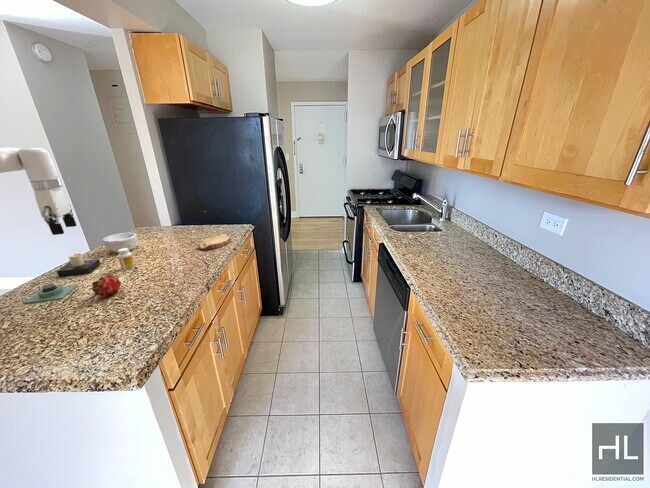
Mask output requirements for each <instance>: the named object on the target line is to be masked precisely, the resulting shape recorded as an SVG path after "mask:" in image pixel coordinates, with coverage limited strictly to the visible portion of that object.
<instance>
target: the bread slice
mask: <svg viewBox="0 0 650 488" xmlns="http://www.w3.org/2000/svg"><path fill="white" fill-rule="evenodd" d="M231 241H232V239H231V236H229V235H227V234H220V235H215V236H212V237H209V238H206V239H202V240H201V241H199V243H198V245H197V249H198V250H199V251H209V250H215V249H218V248H222V247H224V246H225V245H228V244H229V243H230V242H231Z"/></svg>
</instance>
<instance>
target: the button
mask: <svg viewBox="0 0 650 488" xmlns="http://www.w3.org/2000/svg"><path fill="white" fill-rule="evenodd" d="M55 285H56V284H55V283H49V284H46V285H44V286H42V287H41V289H42V290H43V292H49V291H53V290H55V289H56V286H55Z"/></svg>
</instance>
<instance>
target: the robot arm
mask: <svg viewBox="0 0 650 488" xmlns="http://www.w3.org/2000/svg"><path fill="white" fill-rule="evenodd" d="M19 171H25V173H26V176H27V179H28V180H29V183H30V185H31V187H32V190H33V192H34V197H35V201H36V204H37V207H38V210H39V213H40V216H41V217H42V218H43V219H44V222H46V224H47V225H48V227H49V229H50V232H51V235H53V236H56V235H63V234H65V231H64V227H63V226H62V223H61V222H60V218H61V217H62V221H63V223H64V225H65V227H66V228H72V227H77V222H76V220H75V217H74V213H73V209H72V206H71V203H69V201H68V198H67V196H66V193H65V192H64V190H63V189H64V186H63V184H62V181H61V179H60V176H59V173H58V171H57V168H56V166H55V163H54V161H53V158H52V155H51V152H50V151H49V150H47V148H44V147H43V148H42V147H28V148H27V147H25V148H19V147H0V174H3V173H4V174H5V173H9V172H10V173H11V172H19Z"/></svg>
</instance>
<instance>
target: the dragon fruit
mask: <svg viewBox="0 0 650 488" xmlns="http://www.w3.org/2000/svg"><path fill="white" fill-rule="evenodd" d="M121 285H122V281H121V280H120V279H119V276H117V275H115V274H114V275H111V274H106V275H105V276H101V277H99V278H98V279H97V280H95V281H93V282H92V287H91V290H92V292H93V293H94V296H100V297H101V298H103V297H106V298H107V297H109V296H110V295H115V294H117V293H118V291H119V290H120V287H121Z"/></svg>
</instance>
